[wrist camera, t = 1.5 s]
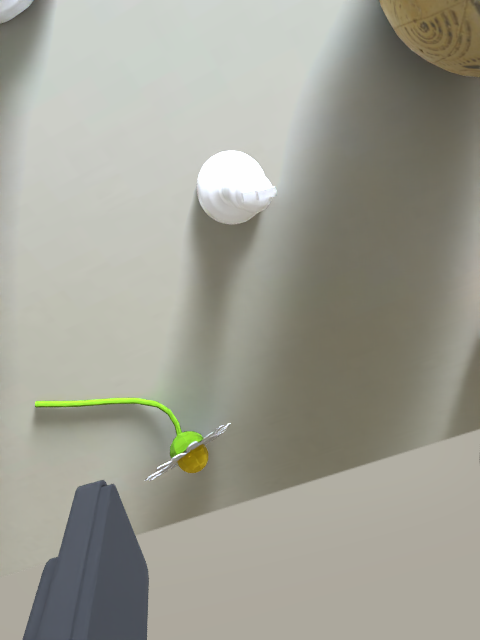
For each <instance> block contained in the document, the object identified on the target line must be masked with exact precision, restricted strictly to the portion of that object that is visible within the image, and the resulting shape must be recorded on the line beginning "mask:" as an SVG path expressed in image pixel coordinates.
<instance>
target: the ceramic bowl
mask: <svg viewBox="0 0 480 640" xmlns="http://www.w3.org/2000/svg"><path fill="white" fill-rule="evenodd" d="M379 1H380V5H381V7H382V9H383V11H384V13H385V15H386V17H387V19H388V21H389V23H390V24H391V26H392V27H393V29H394V30H395V32H396V34H397V35H398V37H399V38H400V39H401V40H402V41H403V42H404V43H405V44H406V45H407V46H408V47H409V48H410V49H411V50H412V51H414V52H415V53H416V54H418V55H419V56H421V57H422V58H423V59H425V60H426V61H428V62H430V63H432V64H434V65H436V66H438V67H440V68H442V69H444V70H446V71H448V72H451V73H455V74H458V75H462V76H471V77H480V0H379Z"/></svg>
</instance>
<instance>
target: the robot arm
mask: <svg viewBox="0 0 480 640" xmlns="http://www.w3.org/2000/svg"><path fill="white" fill-rule="evenodd" d="M33 1H34V0H0V24H1V23H4V22H6V21H9V20H11V19H12V18H14V17H15V16H17V15H18V14H19V13H21V12H22V11H24V10H25V9H27V8H28V7H29V5H30V4H31V3H32V2H33ZM148 585H149V578H148V569H147V565H146V561H145V559H144V556H143V554H142V551H141V549H140V546H139V544H138V542H137V539H136V536H135V534H134V531H133V529H132V526H131V524H130V521H129V519H128V516H127V514H126V511H125V509H124V506H123V504H122V501H121V499H120V496H119V494H118V491H117V489H116V487H115V485H114V484H111V485H107V484H106V482H105V481H104V480H101V481H97V482H94V483H90V484H86V485H83V486H79V487H78V488H77V490H76V492H75V496H74V500H73V503H72V507H71V511H70V515H69V518H68V522H67V526H66V529H65V533H64V537H63V541H62V544H61V548H60V552H59V555H58V557H56V558H52V559H50V560H49V561H48V562H47V563H46V565H45V567H44V570H43V573H42V576H41V580H40V583H39V586H38V590H37V593H36V596H35V600H34V603H33V606H32V610H31V613H30V616H29V620H28V623H27V627H26V630H25V634H24V637H23V640H147V615H148Z"/></svg>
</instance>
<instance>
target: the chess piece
mask: <svg viewBox="0 0 480 640" xmlns="http://www.w3.org/2000/svg"><path fill="white" fill-rule="evenodd" d="M197 195H198V199H199V202H200V204H201V206H202V208H203V209H204V211H205V212H206V213H207V214H208V215H209V216H210V217H211V218H213V219H214V220H216V221H218V222H221V223H224V224H239V223H242V222H245V221H247V220H249V219H251V218H252V217H253V216H255V215H256V214H257V213H258V212H261V211H263V210H264V209H265V208H267V206H268V205H269V204H270V202H271V200H272V197H273V196H277V191H276V187H275V186H273V187H272V186H271V183H270V181H269V180H268V179H267V178H266V177H265V175H264V173H263V171H262V169H261V167H260V166H259V164H258V163H257V162H256V161H255V160H254V159H252V158H251V157H250V156H248V155H246V154H244V153H241V152H238V151H225V152H221V153H218V154H216V155H214V156H213V157H211V158H210V159H209V160H208V161H207V162H206V163H205V164H204V166H203V167H202V169H201V171H200V173H199V176H198V180H197Z"/></svg>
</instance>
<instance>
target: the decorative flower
mask: <svg viewBox="0 0 480 640" xmlns="http://www.w3.org/2000/svg"><path fill="white" fill-rule="evenodd" d="M108 404H141V405H147V406H153V407H157V408H159V409H160V410H162V411H163V412H165V413H166V414H168V416H169V417H170V419H171V421H172V422H173V424H174V426H175V429H176V434H177V437H176V438H175V439H174V440H173V442H172V444H171V446H170V456H171V458H172V459H171V461H170V462H167V463H165V464H163V465H161V466H159V467H158V468H157V469H156V470H160V469H162V470H160V471H158V472H156V473H154V474H152V475H151V476H149V477H148V478H147V479H145V481H147V480H149V479H150V481H151V480H153V479H155V478H157V477H159V476H160V475H162V474H163V473H165V472H167V471H168V470H169V469H172V468H174V467H175V466H177V465H179V467H180V468H181V469H182V470H183V471H185V472H188V473H196V472H199V471H201V470H202V469H203V468H204V467H205V466H206V464H207V462H208V451H207V448H206V446H205V445H206V444H207V443H209V442H211V441H213V440H214V439H215V438H217V437H218V436H219V435H221V434H222V433H223V432H224V431H225V430H226V428H227V427H228V426H229V425H230V424H231V423H229V424H227V425H226V426H225V427H224V428H223V429H222V427H223V426H224V425H221V426H220V427H218V428H217V429H216V430H215V431H214V432H212V433H209V434H208V435H207V436H206V437H205V438H203V437H202V436H201V434H198V433H196V432H193V431H186V432H183V433H182V431H181V428H180V425H179V422H178V420H177V419H176V418H175V416H174V415H173V413H172V412H171V410H170V409H168V408H167V407H165V406H163V405H162V404H160V403H158V402H156V401H150V400H145V399H139V398H113V399H98V400H84V401H36V402H35V407H81V406H94V405H108ZM219 430H220V431H219ZM218 431H219V432H218ZM217 432H218V433H217ZM176 463H177V464H176ZM175 464H176V465H175ZM174 465H175V466H174ZM163 468H164V469H163ZM156 475H157V476H156ZM153 477H154V478H153ZM151 478H152V479H151Z"/></svg>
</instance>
